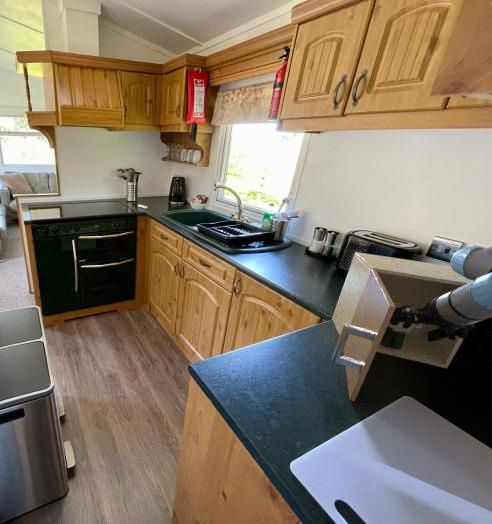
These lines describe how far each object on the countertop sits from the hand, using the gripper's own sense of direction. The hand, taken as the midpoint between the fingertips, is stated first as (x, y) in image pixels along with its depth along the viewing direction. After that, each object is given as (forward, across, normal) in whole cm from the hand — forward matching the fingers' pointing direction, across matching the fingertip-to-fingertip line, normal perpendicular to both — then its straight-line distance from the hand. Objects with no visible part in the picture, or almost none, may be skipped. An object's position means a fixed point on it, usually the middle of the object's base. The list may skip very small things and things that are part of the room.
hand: (400, 330), depth 86 cm
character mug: (+7, 0, +3) cm, 7 cm away
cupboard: (+10, 0, +1) cm, 10 cm away
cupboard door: (-5, +18, +16) cm, 25 cm away
